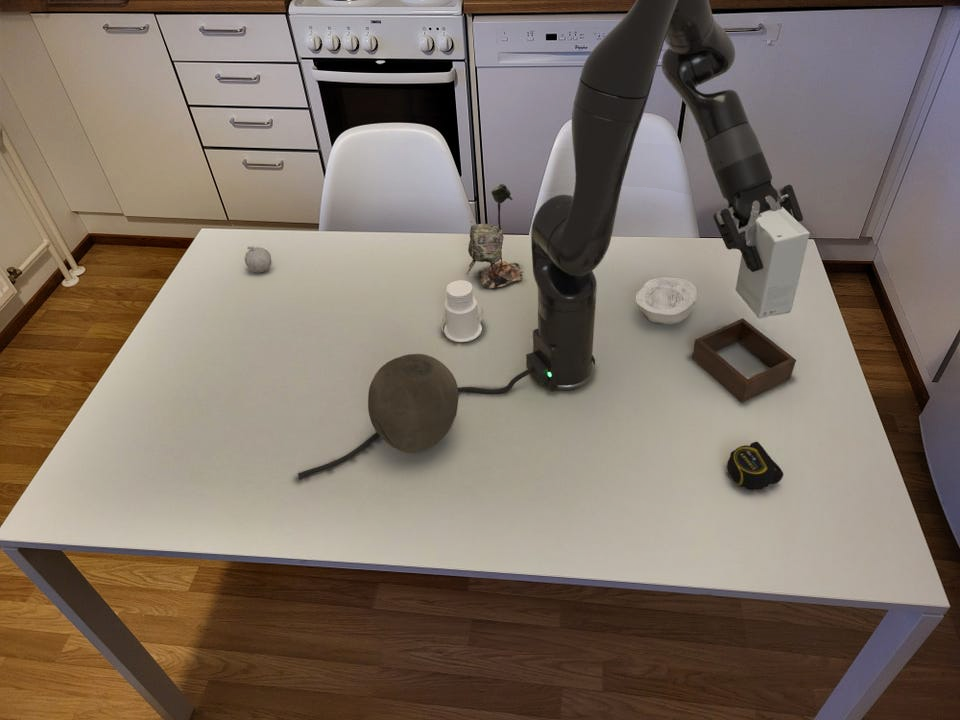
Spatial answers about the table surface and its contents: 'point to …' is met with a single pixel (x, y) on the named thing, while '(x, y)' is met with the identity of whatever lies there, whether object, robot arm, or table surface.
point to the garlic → (258, 259)
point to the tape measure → (753, 467)
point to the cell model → (667, 299)
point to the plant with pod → (492, 248)
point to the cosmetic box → (774, 264)
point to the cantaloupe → (413, 402)
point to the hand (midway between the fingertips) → (776, 262)
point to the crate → (756, 344)
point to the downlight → (461, 313)
